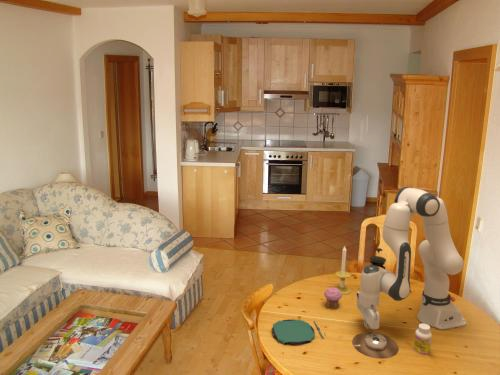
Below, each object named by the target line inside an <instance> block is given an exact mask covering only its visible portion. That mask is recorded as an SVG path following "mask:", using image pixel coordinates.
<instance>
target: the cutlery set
mask: <svg viewBox="0 0 500 375" xmlns="http://www.w3.org/2000/svg"><path fill="white" fill-rule="evenodd" d="M313 323H314V325H315V327H316V329H317V331H318V334H319V336H320V337H321V338H322V340H324V339H325V338H324V336H326V337H327V335H326V332H324V335H323V334H322V332H321V330H320V327H319V326H318V324H317V323H316V321H315V320H314V321H313ZM271 330H272V332H271V333H272V334H273V336H274V337H275V338H276V339H277V341H278V342H279V343H280V344H282V345H284V344H286V343H288V344H295V345H297V344H298V345H299V344H305V343H308V342H311V341H313V339H315V338H316V333H315V329H314V327H312V325H310V323H309V322H306V321H305V320H301V319H282V320H278V321H276V322H275V323H274V324H272V328H271Z"/></svg>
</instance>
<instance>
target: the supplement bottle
mask: <svg viewBox="0 0 500 375" xmlns="http://www.w3.org/2000/svg"><path fill="white" fill-rule="evenodd" d="M414 334H415V335H414V342H413V350H414V351H415V352H416V353H418V354H420V355H427V356H429V355H430V353H431V344H432V337H433V335H432V332H431V326H429V325H427V324H424V323H419V324H418V328H417V329H416V330H415V333H414Z"/></svg>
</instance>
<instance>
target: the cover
mask: <svg viewBox="0 0 500 375" xmlns="http://www.w3.org/2000/svg"><path fill="white" fill-rule="evenodd" d="M379 334H380V333H379ZM379 334H368V335H367V336H366V339H365V345H366V347H367V348H368V349H370V350H373V351H383V350H385V349H386V343H387V340H386V338H385V337H383V336H382V335H379Z"/></svg>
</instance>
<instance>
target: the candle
mask: <svg viewBox="0 0 500 375" xmlns="http://www.w3.org/2000/svg"><path fill="white" fill-rule="evenodd" d="M341 253H342V254H341V256H342V257H341V268H340V269H341V270H338V271H335V273H334V275H335V276H336V277H338V278H340V280H339V285H335V286H334V287H335V288H337V289H338V290H340V291H341V293H342V295H349V294H350V293H351V292H352V290H351V288H350V287H348V286H346V282H345V281H346V279H348V278H350V277H351V275H352V274H351V273H350V272H349V271H346V263H347V262H346V261H347V248H346V245H344V246H343V247H342V252H341Z"/></svg>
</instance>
